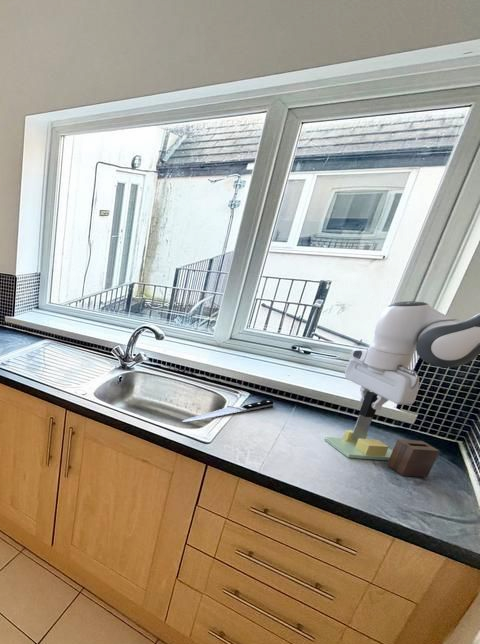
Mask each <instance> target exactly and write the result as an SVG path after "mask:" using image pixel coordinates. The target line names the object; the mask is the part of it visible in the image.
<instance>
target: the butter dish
mask: <svg viewBox="0 0 480 644" xmlns="http://www.w3.org/2000/svg"><path fill="white" fill-rule="evenodd" d="M323 440H324V441H325V442H327V444H329V445H330V446H332V447H334V449H336V450H337V451H339V452H340V453H341V454H342V455H344V456H345V457H346V458H349V459H362V460H378V461H389V458H390V456H391V454H392V451H393V449H390V448H388V450H387V452H386V455H385V456H376V455H365V454H364V453H362V452H361V451H359V450H358V449H357V448H355V446H356V444H357V442H349V441H345V440H344V439H343V437H333V436H331V437H330V436H325V437H324V438H323Z"/></svg>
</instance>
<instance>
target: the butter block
mask: <svg viewBox="0 0 480 644" xmlns="http://www.w3.org/2000/svg"><path fill="white" fill-rule="evenodd" d="M355 448H357V449H358V450H359V451H361V452H362V453H364V454H365V455H376V456H385V455H386V452H387V450H388V448H389V445H387V444H385V443H383V442H382V441H380V440H379V439H374V438H373V439H372V438H366V439H358V441H357V444H356V446H355ZM389 449H390V448H389Z"/></svg>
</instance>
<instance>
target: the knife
mask: <svg viewBox="0 0 480 644" xmlns="http://www.w3.org/2000/svg"><path fill="white" fill-rule="evenodd" d="M377 395H378V394H376V393H374V392H372V391H370V392H366V395H365V398H364V401H363V403H362V404H361V407H360V410H359V413H358V414H359V415H358V417H357V420H356V422H355V425H354V428H353V433H352V436H351V440H358V439H365V437H366V434H367V433H368V432H369V429H370V426H371V423H372V421H373V419H374V417H375V415H376V412H377V410H375V409H373V408H371V407H370V406H371V403H372V402H375V401H376V400H377V399H378V398H377Z"/></svg>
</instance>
